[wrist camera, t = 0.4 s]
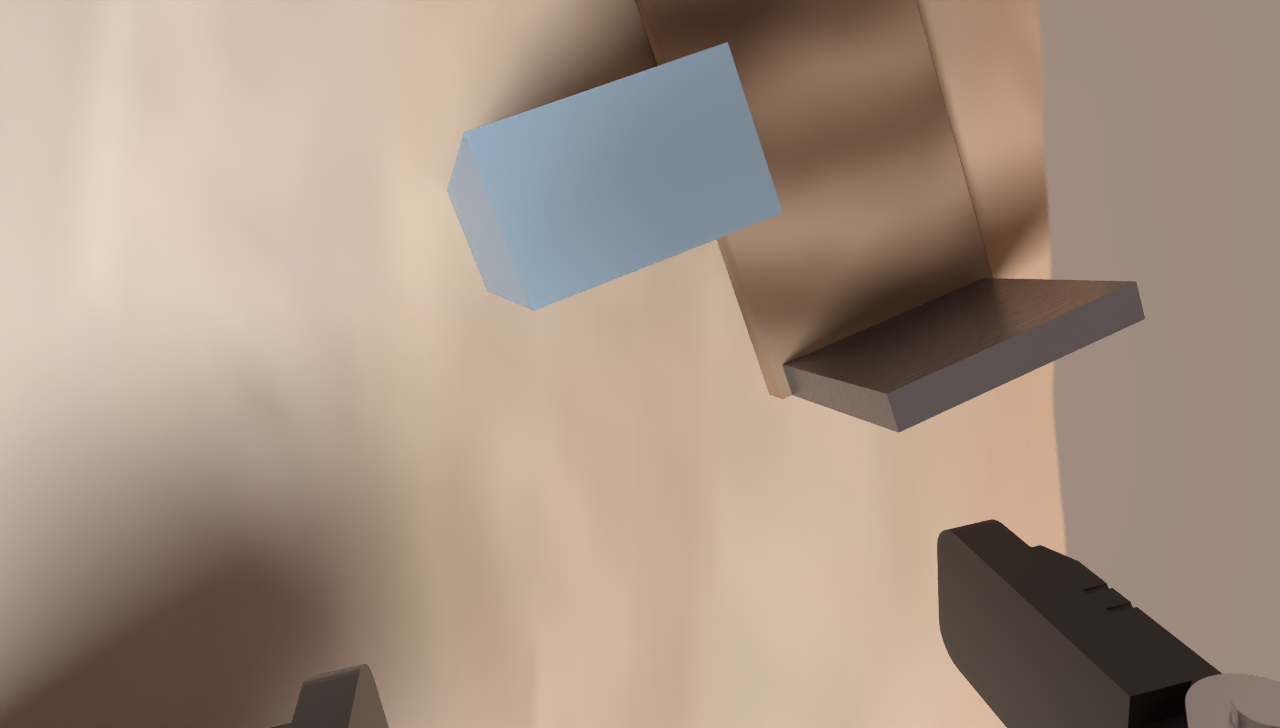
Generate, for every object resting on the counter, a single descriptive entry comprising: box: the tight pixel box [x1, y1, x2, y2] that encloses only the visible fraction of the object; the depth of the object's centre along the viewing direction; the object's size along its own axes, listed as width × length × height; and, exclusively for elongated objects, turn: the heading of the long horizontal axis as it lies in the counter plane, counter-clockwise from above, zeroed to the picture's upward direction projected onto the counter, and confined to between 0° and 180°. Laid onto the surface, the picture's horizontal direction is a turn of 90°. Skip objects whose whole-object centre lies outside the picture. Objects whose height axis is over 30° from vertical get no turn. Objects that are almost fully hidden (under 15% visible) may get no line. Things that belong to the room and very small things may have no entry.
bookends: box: [782, 278, 1145, 432], centre depth 33 cm, size 21×11×9 cm, turn 20°
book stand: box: [635, 0, 993, 399], centre depth 38 cm, size 21×12×2 cm, turn 20°
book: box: [447, 42, 783, 310], centre depth 29 cm, size 4×7×16 cm, turn 110°
